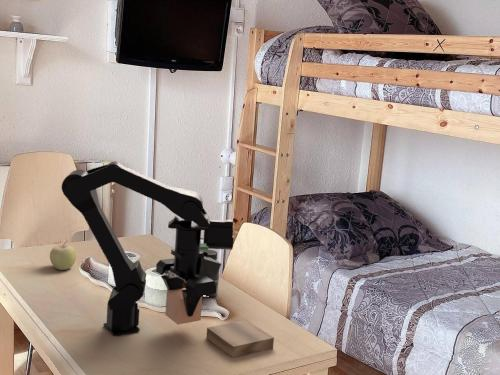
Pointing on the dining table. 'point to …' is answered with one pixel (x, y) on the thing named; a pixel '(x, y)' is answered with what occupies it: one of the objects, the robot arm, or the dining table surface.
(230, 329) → the walnut base
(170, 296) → the terracotta cube
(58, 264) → the fruit
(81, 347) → the dining table surface
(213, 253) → the supplement bottle
